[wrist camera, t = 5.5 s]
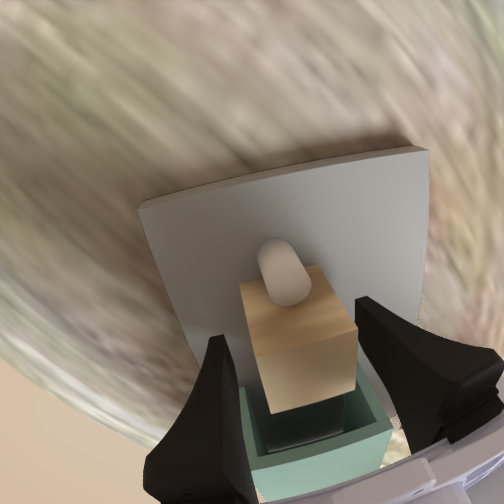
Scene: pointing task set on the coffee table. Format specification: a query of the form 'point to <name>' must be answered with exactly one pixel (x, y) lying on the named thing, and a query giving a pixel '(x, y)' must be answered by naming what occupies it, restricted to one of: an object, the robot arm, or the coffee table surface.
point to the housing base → (325, 232)
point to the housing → (320, 448)
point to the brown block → (301, 344)
